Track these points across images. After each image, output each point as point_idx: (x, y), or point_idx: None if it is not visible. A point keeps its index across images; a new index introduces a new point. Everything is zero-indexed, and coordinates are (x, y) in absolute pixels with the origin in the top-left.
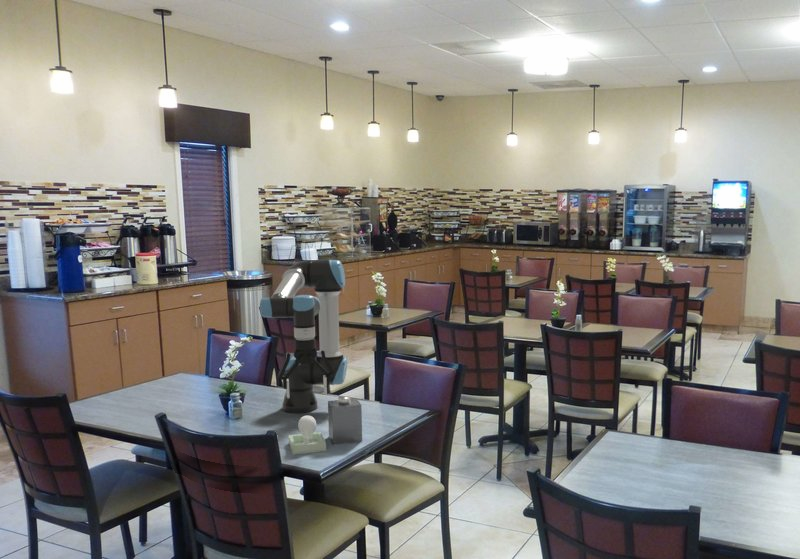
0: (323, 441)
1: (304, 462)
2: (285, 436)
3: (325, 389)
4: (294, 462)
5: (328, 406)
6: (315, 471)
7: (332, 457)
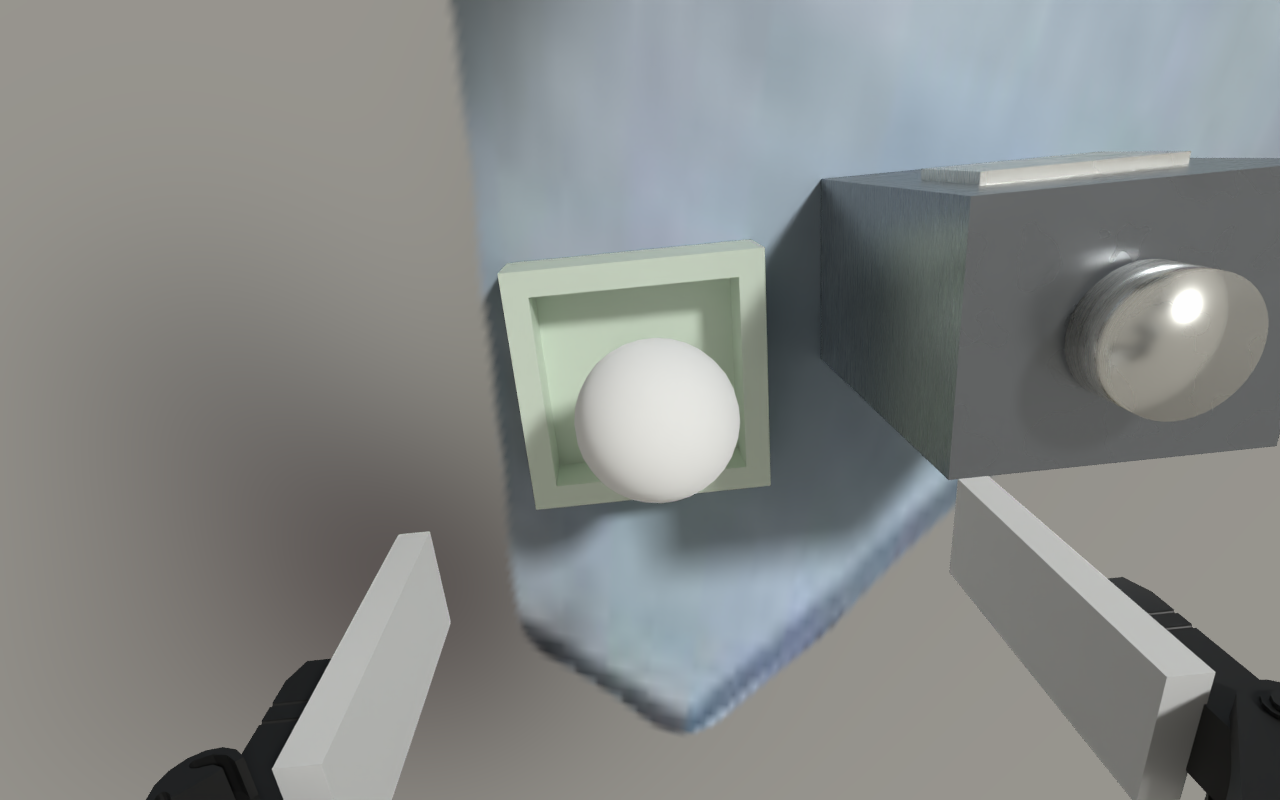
0: (756, 465)
1: (611, 606)
2: (470, 72)
3: (1000, 620)
4: (554, 597)
5: (938, 225)
6: (663, 720)
7: (777, 566)
